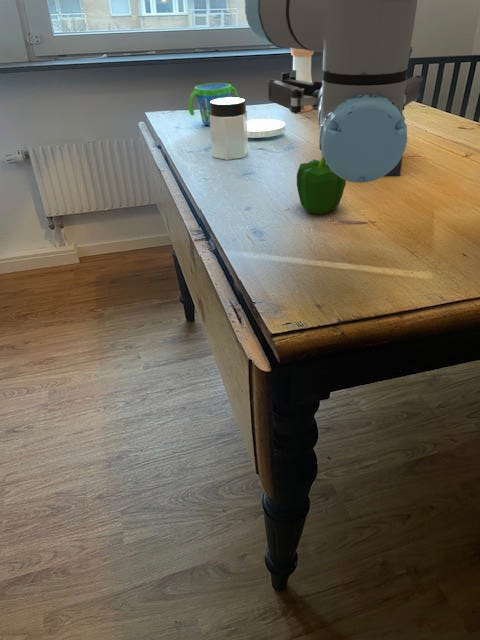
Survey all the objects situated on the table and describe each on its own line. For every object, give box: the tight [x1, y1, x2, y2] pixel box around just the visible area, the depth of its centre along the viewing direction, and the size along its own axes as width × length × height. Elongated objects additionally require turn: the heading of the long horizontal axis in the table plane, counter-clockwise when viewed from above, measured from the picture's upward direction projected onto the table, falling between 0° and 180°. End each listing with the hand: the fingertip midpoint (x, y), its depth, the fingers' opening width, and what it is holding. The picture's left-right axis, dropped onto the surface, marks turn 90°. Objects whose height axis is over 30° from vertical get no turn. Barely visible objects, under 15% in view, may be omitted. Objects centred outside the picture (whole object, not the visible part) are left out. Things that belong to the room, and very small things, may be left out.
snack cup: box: [187, 82, 239, 127], centre depth 144 cm, size 16×10×10 cm
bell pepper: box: [296, 155, 347, 215], centre depth 86 cm, size 8×8×10 cm
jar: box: [209, 97, 249, 161], centre depth 116 cm, size 9×8×12 cm
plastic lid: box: [247, 118, 286, 139], centre depth 133 cm, size 14×14×2 cm
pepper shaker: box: [288, 48, 315, 113], centre depth 153 cm, size 7×7×19 cm
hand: (339, 79), depth 74 cm, fingers open, 13 cm apart
